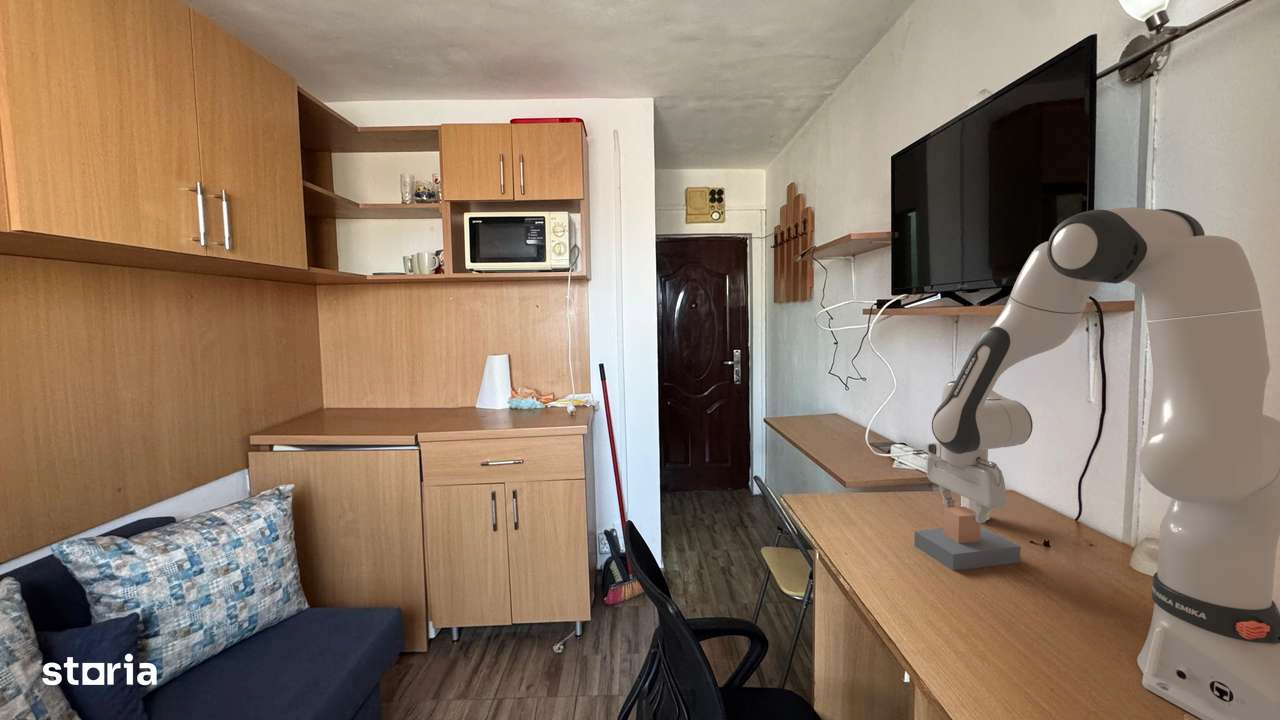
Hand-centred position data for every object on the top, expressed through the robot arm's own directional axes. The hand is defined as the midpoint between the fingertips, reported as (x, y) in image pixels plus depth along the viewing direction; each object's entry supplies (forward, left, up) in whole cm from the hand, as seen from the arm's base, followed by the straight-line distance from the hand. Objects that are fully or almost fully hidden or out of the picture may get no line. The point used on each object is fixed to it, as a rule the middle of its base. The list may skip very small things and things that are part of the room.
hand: (963, 513), depth 117 cm
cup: (+17, -17, -9) cm, 26 cm away
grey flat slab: (0, 0, -10) cm, 10 cm away
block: (0, 0, -6) cm, 6 cm away
